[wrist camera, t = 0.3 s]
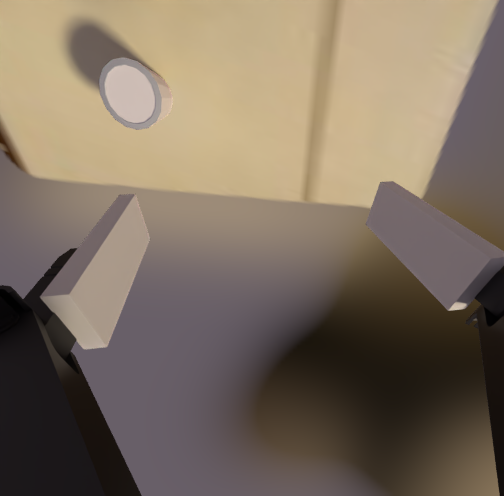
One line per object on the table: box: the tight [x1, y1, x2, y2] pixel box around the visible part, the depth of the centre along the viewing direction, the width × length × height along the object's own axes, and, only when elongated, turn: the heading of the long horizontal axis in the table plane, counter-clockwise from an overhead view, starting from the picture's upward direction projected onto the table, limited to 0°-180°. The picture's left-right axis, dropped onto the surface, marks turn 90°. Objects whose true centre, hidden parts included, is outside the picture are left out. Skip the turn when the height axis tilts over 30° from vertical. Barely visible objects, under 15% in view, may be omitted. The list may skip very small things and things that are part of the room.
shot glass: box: [99, 57, 173, 130], centre depth 29 cm, size 7×7×7 cm
